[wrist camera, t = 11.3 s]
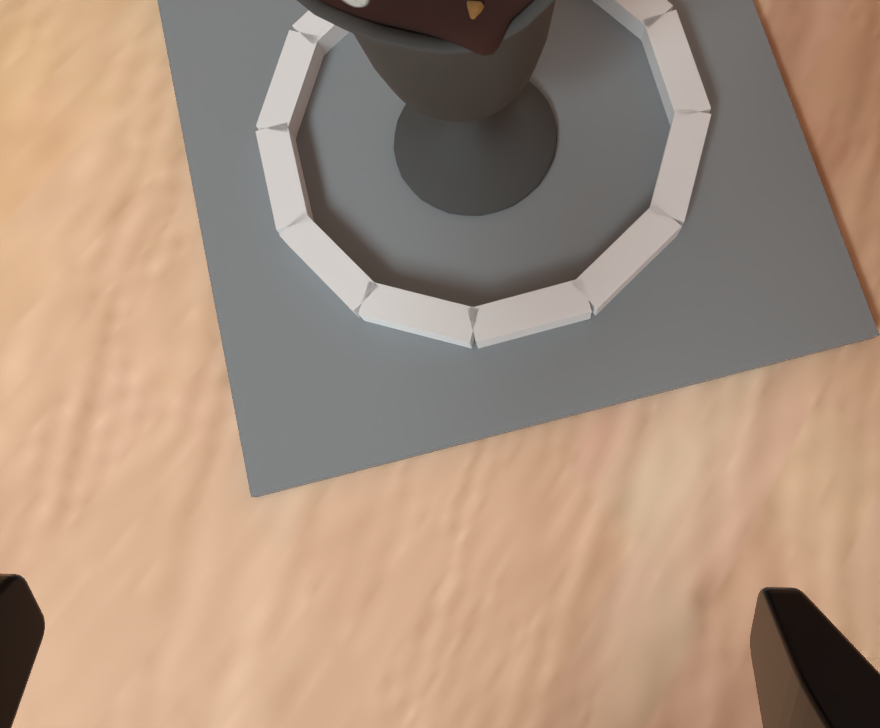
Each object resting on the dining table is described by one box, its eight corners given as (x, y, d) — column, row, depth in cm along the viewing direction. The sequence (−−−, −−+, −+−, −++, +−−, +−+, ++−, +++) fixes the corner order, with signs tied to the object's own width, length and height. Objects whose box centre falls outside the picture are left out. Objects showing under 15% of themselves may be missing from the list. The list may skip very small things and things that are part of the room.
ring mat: (873, 338, 23) (891, 327, 22) (255, 497, 24) (241, 495, 23) (678, -182, 27) (684, -214, 26) (157, -23, 28) (140, -48, 27)
